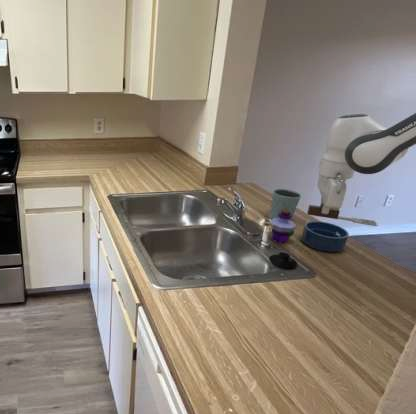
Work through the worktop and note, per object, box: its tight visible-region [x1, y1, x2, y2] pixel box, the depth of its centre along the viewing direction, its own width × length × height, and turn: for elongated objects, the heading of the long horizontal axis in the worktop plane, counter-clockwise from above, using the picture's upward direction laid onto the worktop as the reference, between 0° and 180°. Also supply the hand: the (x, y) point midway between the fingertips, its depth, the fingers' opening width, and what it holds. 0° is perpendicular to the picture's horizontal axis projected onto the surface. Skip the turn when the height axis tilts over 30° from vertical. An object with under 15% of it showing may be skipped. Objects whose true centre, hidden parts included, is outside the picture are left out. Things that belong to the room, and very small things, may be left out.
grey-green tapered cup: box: [268, 188, 302, 222], centre depth 138 cm, size 10×10×12 cm
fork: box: [307, 204, 379, 227], centre depth 103 cm, size 18×3×3 cm, turn 65°
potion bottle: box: [270, 209, 297, 244], centre depth 122 cm, size 9×9×12 cm
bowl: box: [300, 220, 349, 253], centre depth 120 cm, size 13×13×6 cm
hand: (323, 211), depth 105 cm, fingers closed on fork, 2 cm apart
